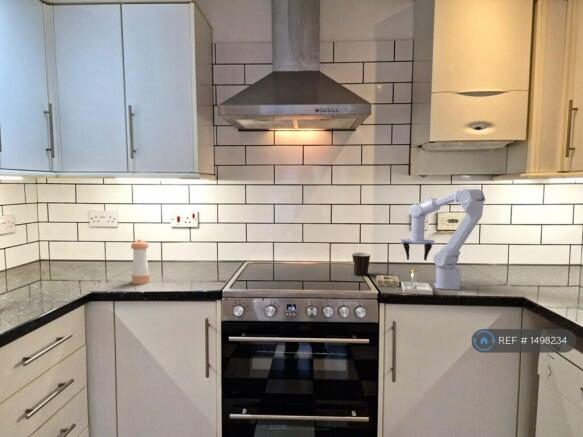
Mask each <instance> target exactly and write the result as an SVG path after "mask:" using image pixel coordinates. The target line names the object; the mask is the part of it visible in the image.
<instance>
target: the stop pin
mask: <svg viewBox="0 0 583 437" xmlns="http://www.w3.org/2000/svg"><path fill="white" fill-rule="evenodd" d="M418 273H419V272H418V269H411V272H410V274H411V275H410V276H411V277H410V282H411V289H417V283H418Z"/></svg>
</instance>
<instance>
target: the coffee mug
mask: <svg viewBox="0 0 583 437" xmlns="http://www.w3.org/2000/svg"><path fill="white" fill-rule="evenodd" d="M370 260H371V254H370V253H366V252H354V253H352V266H353V275H354V276H357V275H358V276H357V277H366V275H367V276H368V272H369V266H370Z"/></svg>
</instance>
